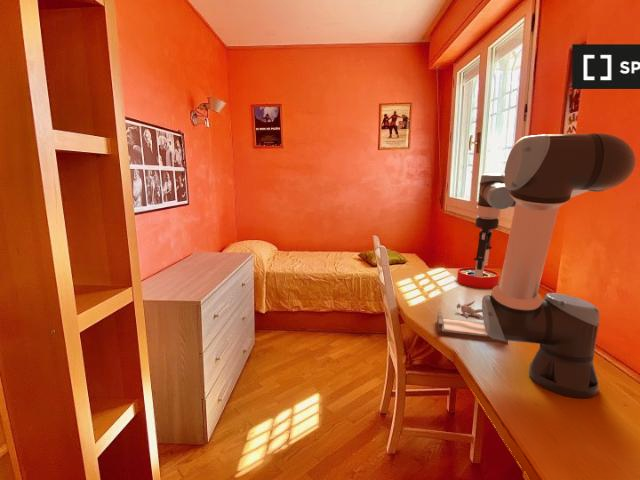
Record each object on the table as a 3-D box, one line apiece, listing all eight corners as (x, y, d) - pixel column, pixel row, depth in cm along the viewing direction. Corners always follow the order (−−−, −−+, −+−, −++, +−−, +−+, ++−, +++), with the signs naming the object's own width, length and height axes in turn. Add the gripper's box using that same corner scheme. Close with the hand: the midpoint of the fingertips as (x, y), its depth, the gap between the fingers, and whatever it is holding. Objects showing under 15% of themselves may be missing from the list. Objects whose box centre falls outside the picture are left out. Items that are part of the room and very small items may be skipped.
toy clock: (507, 274, 176) (480, 279, 168) (506, 285, 177) (479, 290, 169) (475, 266, 194) (449, 269, 185) (474, 275, 195) (448, 280, 186)
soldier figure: (484, 324, 130) (453, 309, 136) (482, 328, 134) (452, 313, 140) (492, 308, 133) (462, 293, 138) (489, 312, 137) (460, 298, 142)
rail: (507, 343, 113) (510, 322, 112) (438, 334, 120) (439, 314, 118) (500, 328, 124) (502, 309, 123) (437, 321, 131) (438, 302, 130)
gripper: (481, 209, 136) (475, 258, 142) (470, 223, 116) (464, 280, 122) (502, 210, 132) (495, 261, 138) (495, 226, 112) (487, 284, 118)
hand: (481, 270), depth 130 cm, fingers open, 13 cm apart
